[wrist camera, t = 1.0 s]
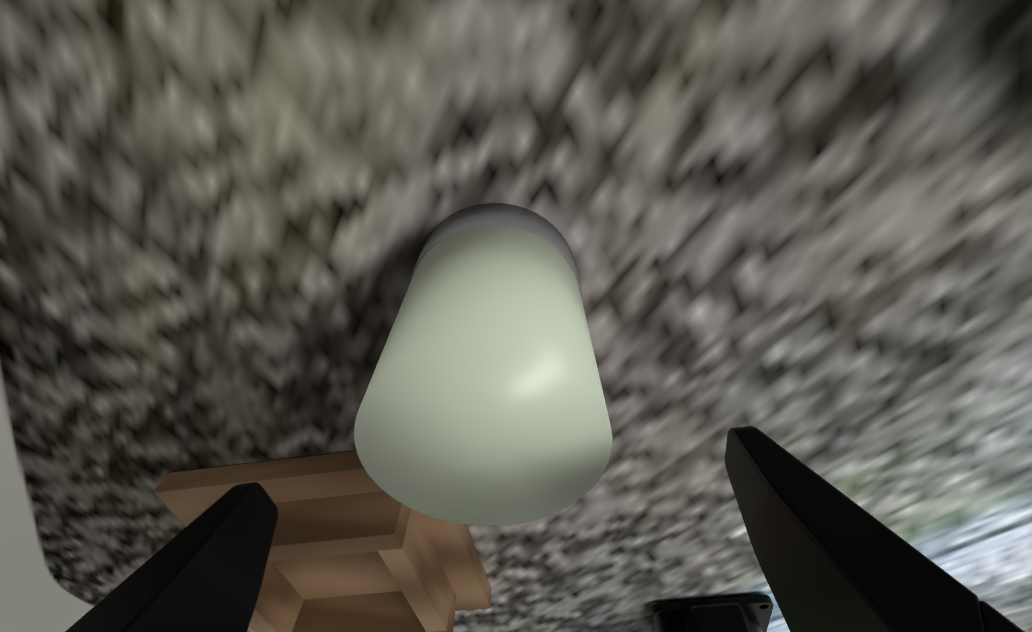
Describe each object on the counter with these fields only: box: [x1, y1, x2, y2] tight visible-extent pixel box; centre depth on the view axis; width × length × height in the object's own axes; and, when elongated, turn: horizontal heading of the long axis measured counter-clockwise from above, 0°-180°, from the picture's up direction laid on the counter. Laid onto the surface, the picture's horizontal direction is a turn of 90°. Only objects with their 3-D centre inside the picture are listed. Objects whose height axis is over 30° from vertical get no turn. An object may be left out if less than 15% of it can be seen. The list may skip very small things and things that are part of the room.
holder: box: [153, 451, 491, 632], centre depth 21 cm, size 12×12×3 cm
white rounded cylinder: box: [354, 203, 612, 526], centre depth 12 cm, size 5×5×7 cm
